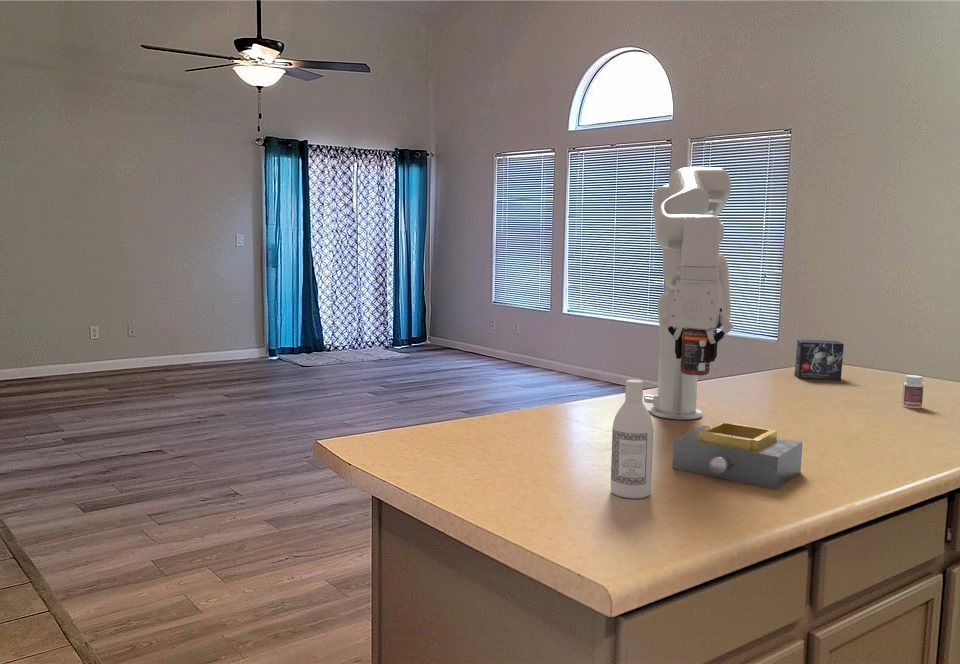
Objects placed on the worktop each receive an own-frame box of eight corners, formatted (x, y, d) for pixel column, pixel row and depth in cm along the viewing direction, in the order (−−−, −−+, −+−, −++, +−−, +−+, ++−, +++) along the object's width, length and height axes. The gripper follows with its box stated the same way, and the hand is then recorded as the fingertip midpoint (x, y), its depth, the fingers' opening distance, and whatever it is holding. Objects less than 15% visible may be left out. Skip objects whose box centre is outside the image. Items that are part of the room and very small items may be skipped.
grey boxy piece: (665, 471, 155) (667, 432, 154) (701, 453, 168) (703, 416, 167) (770, 493, 142) (773, 450, 141) (800, 472, 156) (803, 432, 155)
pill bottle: (925, 408, 215) (927, 377, 214) (907, 408, 215) (909, 377, 214) (916, 405, 220) (918, 374, 219) (898, 404, 220) (900, 374, 219)
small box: (798, 378, 259) (800, 341, 258) (793, 375, 266) (795, 339, 264) (841, 380, 257) (844, 343, 256) (836, 376, 264) (838, 340, 262)
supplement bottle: (710, 376, 168) (712, 322, 167) (680, 375, 170) (683, 321, 168) (708, 371, 174) (710, 319, 173) (679, 370, 175) (681, 318, 174)
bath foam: (623, 484, 146) (626, 375, 144) (657, 492, 142) (662, 380, 140) (602, 493, 141) (606, 380, 139) (638, 502, 137) (642, 386, 134)
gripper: (653, 273, 171) (650, 357, 174) (732, 277, 161) (728, 367, 163) (668, 272, 177) (665, 353, 180) (746, 276, 167) (741, 362, 169)
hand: (695, 359), depth 172 cm, fingers closed on supplement bottle, 6 cm apart
